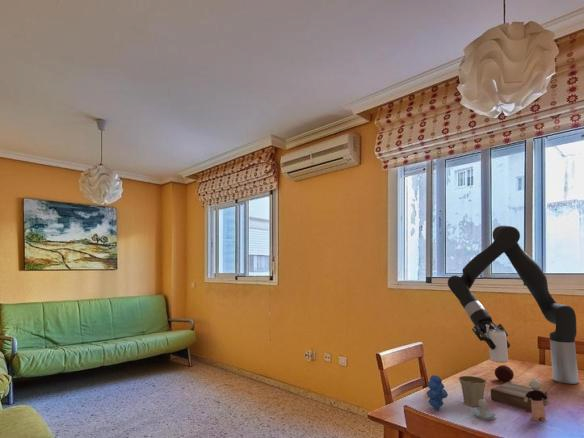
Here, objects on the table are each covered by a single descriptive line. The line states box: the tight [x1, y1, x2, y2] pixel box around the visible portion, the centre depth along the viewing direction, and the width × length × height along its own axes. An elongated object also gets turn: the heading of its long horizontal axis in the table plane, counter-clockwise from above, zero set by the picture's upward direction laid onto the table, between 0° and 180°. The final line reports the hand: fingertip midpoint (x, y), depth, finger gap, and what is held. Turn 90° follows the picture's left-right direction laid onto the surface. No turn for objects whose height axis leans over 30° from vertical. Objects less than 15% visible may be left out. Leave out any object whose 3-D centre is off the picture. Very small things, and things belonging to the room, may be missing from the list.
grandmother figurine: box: [524, 378, 551, 422], centre depth 127 cm, size 8×4×13 cm, turn 92°
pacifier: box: [470, 398, 497, 421], centre depth 129 cm, size 7×6×6 cm
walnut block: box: [490, 382, 548, 412], centre depth 143 cm, size 14×14×4 cm
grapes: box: [426, 374, 449, 411], centre depth 135 cm, size 12×7×12 cm, turn 139°
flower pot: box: [458, 375, 488, 407], centre depth 141 cm, size 9×9×9 cm
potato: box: [494, 364, 515, 383], centre depth 169 cm, size 7×8×7 cm
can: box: [488, 329, 509, 364], centre depth 155 cm, size 6×6×12 cm
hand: (501, 347), depth 153 cm, fingers closed on can, 6 cm apart
